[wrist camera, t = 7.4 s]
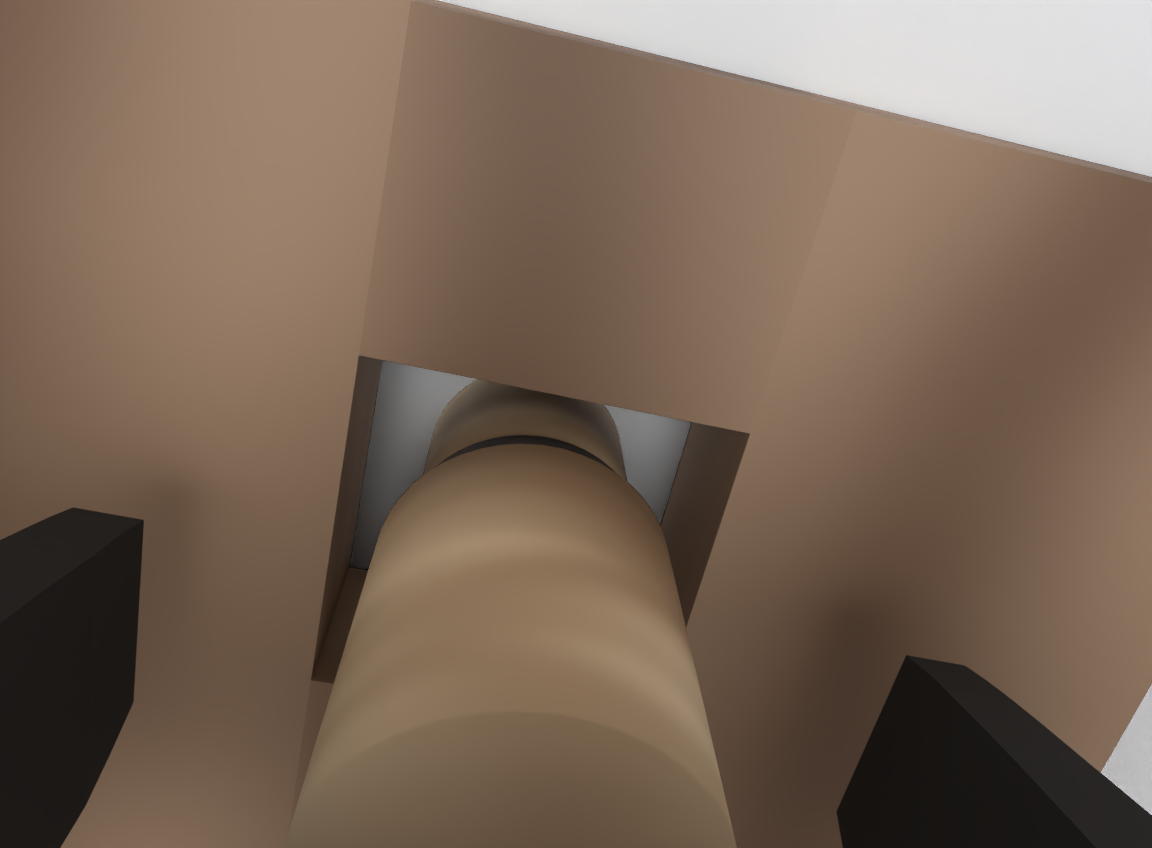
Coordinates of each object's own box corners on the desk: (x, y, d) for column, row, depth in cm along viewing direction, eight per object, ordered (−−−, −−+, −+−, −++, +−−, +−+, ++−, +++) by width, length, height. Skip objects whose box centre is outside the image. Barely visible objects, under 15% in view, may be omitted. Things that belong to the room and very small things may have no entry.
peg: (673, 381, 13) (807, 766, 6) (604, 578, 14) (657, 1068, 8) (437, 318, 12) (324, 665, 6) (387, 529, 13) (247, 1005, 7)
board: (1240, 199, 12) (1405, 245, 10) (842, 995, 18) (886, 1141, 15) (-326, -188, 10) (-590, -248, 8) (-196, 862, 16) (-323, 1009, 13)
